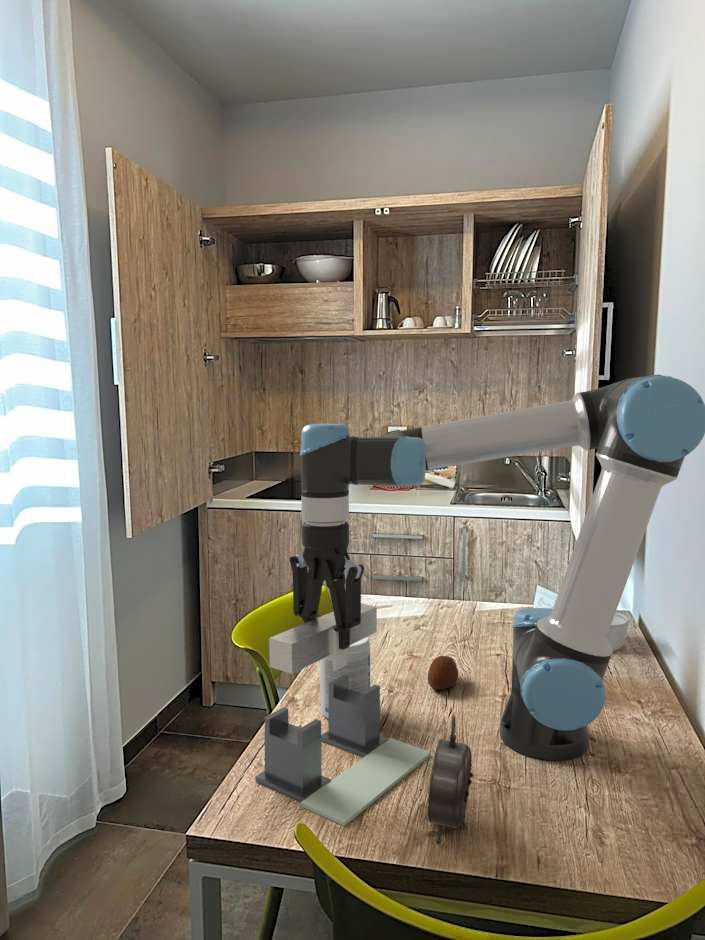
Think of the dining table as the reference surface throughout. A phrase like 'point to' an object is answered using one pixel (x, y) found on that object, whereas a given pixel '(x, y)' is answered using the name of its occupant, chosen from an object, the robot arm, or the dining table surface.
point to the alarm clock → (449, 783)
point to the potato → (442, 673)
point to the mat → (365, 781)
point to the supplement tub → (346, 671)
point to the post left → (292, 757)
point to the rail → (315, 640)
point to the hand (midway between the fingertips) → (326, 663)
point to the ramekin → (618, 631)
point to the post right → (353, 718)
